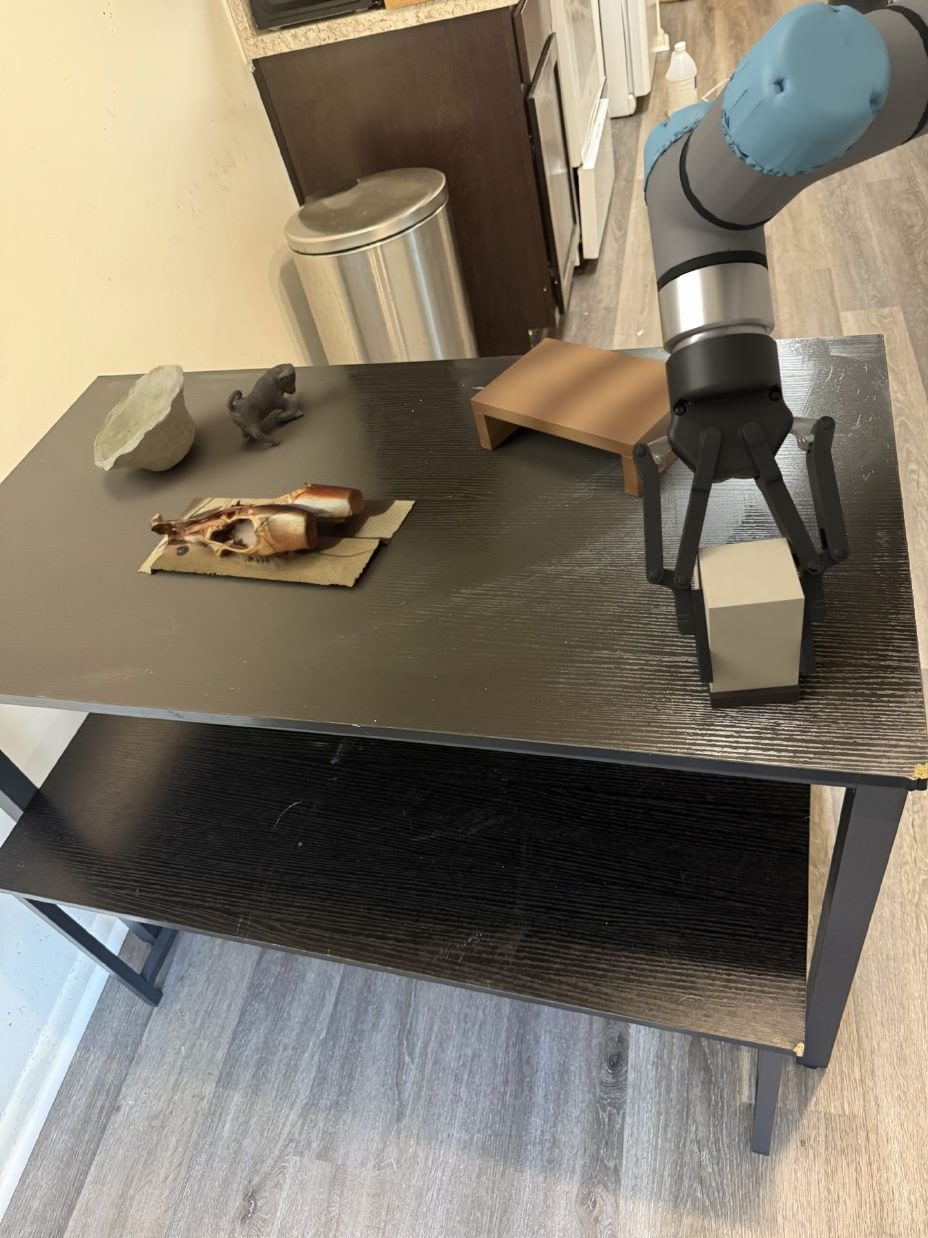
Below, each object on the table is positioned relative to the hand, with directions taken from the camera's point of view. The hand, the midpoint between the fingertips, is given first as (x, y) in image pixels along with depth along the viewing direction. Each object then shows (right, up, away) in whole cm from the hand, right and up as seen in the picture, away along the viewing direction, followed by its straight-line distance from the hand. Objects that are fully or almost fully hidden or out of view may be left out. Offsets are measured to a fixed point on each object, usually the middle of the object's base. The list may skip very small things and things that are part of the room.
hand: (756, 676), depth 60 cm
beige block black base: (+1, +2, +6) cm, 7 cm away
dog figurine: (-43, +28, +47) cm, 69 cm away
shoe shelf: (-7, +23, +30) cm, 39 cm away
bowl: (-57, +23, +47) cm, 77 cm away
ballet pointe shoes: (-40, +12, +30) cm, 51 cm away
